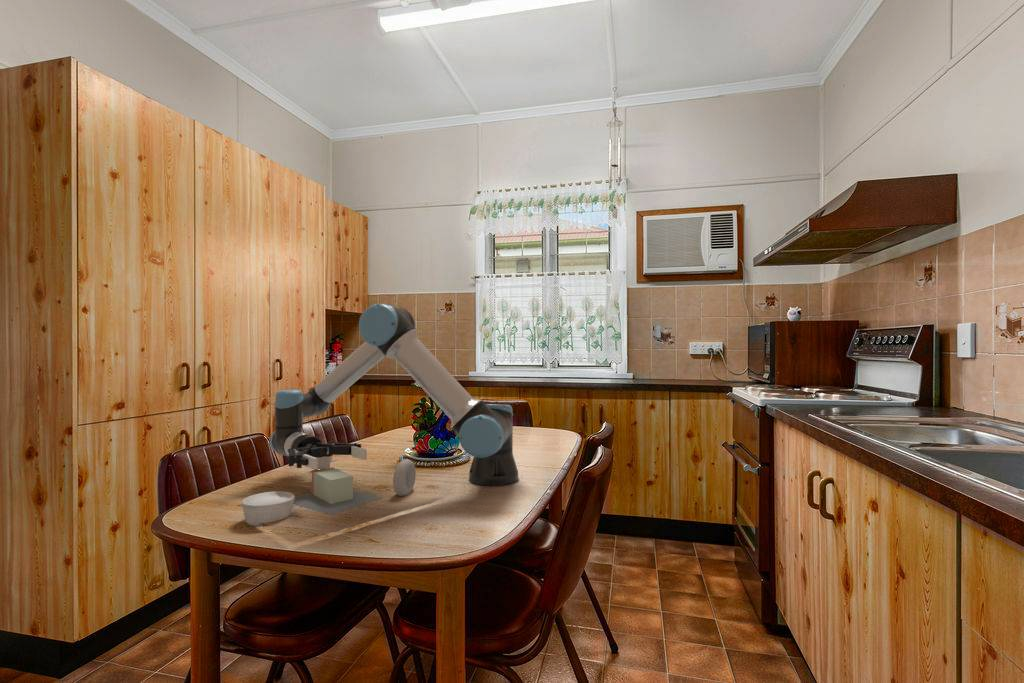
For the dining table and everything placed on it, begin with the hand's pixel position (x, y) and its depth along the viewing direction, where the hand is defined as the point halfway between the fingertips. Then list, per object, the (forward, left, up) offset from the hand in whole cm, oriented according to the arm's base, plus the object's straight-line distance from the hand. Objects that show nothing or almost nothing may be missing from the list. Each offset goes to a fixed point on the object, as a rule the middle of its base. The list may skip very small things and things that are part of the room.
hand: (341, 459), depth 127 cm
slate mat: (+4, -1, -12) cm, 13 cm away
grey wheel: (-8, -15, -12) cm, 21 cm away
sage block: (0, 0, -8) cm, 8 cm away
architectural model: (+35, -21, -13) cm, 43 cm away
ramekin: (+7, +16, -12) cm, 21 cm away
